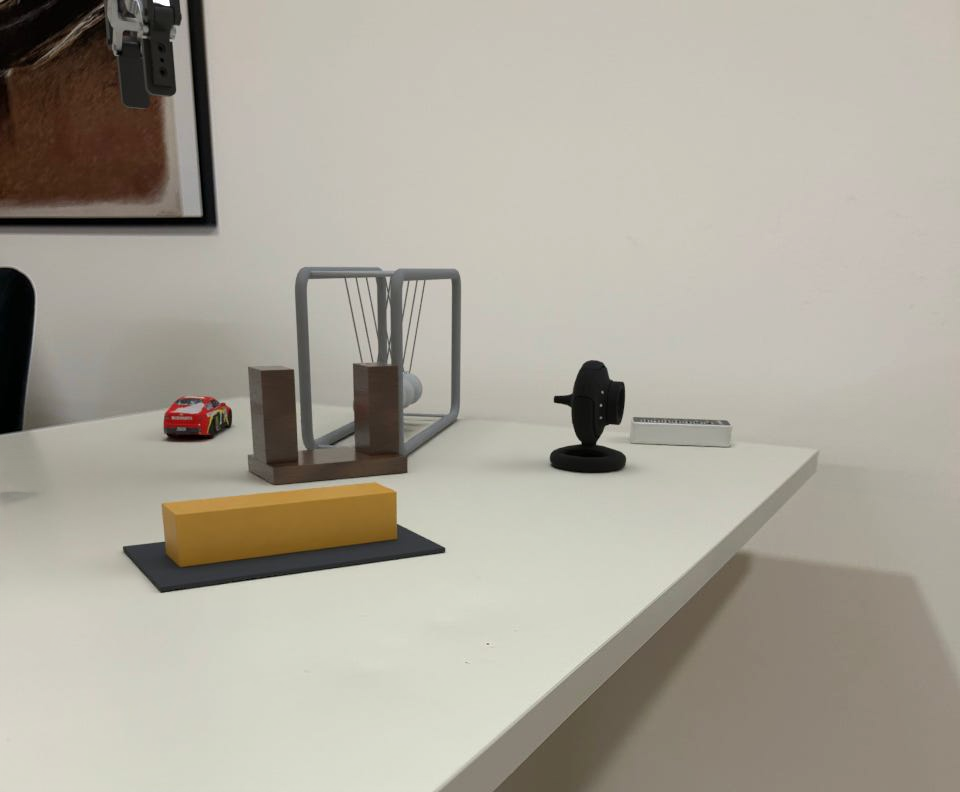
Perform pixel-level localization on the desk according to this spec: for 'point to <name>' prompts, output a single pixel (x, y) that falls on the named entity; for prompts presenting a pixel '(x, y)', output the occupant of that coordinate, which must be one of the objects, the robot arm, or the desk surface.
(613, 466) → the webcam
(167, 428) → the race car
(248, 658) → the desk surface
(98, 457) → the desk surface
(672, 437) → the multiport hub
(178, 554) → the bar
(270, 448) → the wooden u-shaped stand
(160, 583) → the mat
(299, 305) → the newton's cradle
